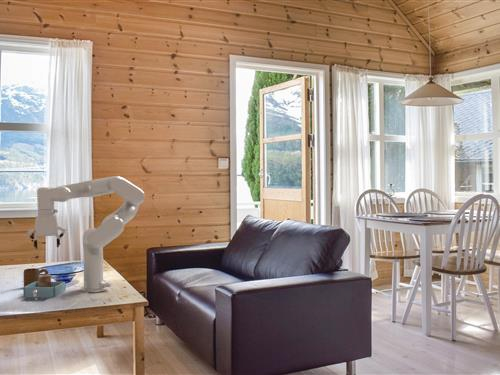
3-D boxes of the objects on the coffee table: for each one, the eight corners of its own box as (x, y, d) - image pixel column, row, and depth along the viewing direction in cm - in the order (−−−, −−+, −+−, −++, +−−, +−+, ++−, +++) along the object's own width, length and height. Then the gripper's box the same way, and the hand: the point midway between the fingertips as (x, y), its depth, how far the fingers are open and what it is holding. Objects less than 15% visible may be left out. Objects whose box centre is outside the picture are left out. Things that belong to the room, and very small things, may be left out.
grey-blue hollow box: (50, 299, 238) (50, 288, 238) (43, 303, 231) (43, 292, 231) (26, 299, 238) (26, 288, 238) (19, 303, 231) (19, 291, 231)
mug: (46, 284, 271) (46, 266, 270) (49, 287, 264) (49, 269, 264) (22, 287, 264) (22, 269, 264) (24, 289, 258) (24, 271, 257)
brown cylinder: (49, 292, 249) (49, 274, 249) (51, 294, 244) (50, 276, 244) (38, 293, 246) (38, 275, 246) (39, 295, 242) (39, 277, 242)
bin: (65, 292, 252) (65, 281, 252) (55, 299, 239) (55, 287, 239) (35, 292, 252) (35, 281, 252) (23, 298, 239) (23, 287, 239)
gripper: (64, 211, 253) (65, 245, 254) (26, 213, 246) (27, 248, 247) (65, 212, 246) (66, 247, 247) (26, 214, 239) (27, 250, 240)
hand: (47, 247), depth 247 cm, fingers open, 9 cm apart
